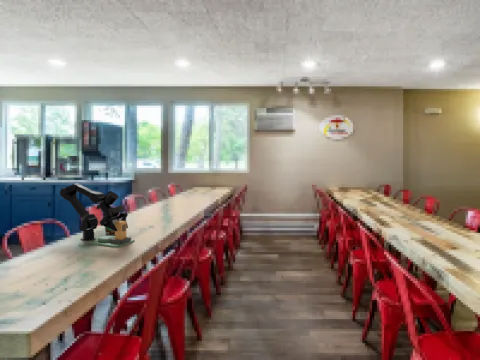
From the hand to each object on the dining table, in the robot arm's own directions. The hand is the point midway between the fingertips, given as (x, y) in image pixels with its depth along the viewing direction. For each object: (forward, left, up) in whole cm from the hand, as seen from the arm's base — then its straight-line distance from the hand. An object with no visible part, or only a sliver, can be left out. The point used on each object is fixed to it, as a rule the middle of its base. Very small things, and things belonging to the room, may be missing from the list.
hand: (122, 229), depth 190 cm
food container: (-24, +16, -9) cm, 30 cm away
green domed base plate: (-7, -1, -9) cm, 11 cm away
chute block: (-1, 0, -8) cm, 8 cm away
